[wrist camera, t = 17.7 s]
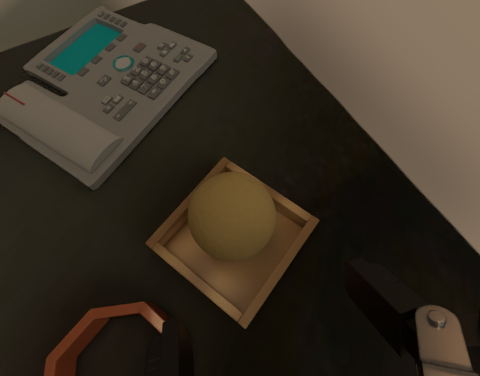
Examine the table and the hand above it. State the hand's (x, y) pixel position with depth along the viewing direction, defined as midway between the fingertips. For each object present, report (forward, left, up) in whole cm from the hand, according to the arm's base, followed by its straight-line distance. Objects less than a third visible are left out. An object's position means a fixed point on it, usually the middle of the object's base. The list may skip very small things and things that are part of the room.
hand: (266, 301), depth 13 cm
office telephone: (-31, +9, -13) cm, 35 cm away
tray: (-5, +4, -13) cm, 15 cm away
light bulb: (-5, +4, -12) cm, 14 cm away
